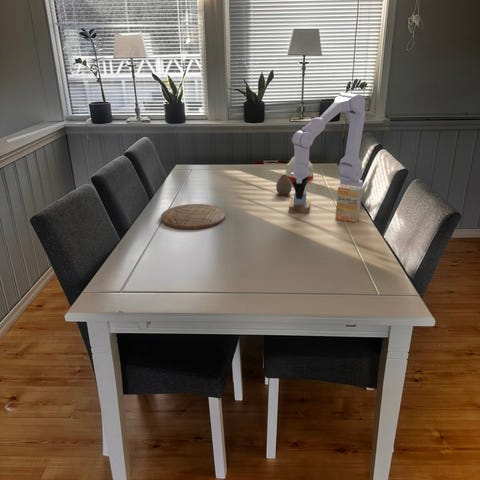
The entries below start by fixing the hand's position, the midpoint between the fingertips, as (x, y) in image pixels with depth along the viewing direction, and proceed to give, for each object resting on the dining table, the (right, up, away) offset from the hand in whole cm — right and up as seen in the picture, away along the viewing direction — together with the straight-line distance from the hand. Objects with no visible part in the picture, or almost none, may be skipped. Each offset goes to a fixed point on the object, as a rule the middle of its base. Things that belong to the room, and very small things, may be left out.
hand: (300, 195), depth 181 cm
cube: (0, -3, +2) cm, 3 cm away
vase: (-5, +3, +21) cm, 22 cm away
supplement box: (+17, -10, -9) cm, 21 cm away
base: (0, -6, +3) cm, 6 cm away
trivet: (-43, -10, -4) cm, 44 cm away
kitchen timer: (+6, +14, +46) cm, 49 cm away
